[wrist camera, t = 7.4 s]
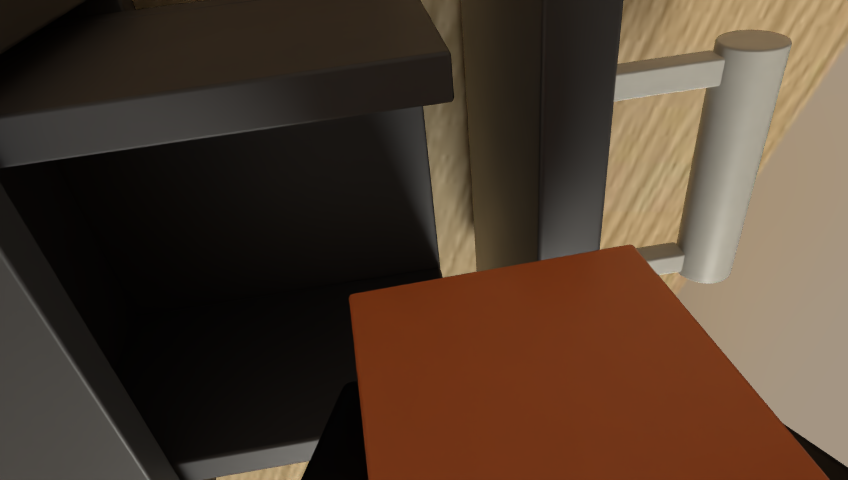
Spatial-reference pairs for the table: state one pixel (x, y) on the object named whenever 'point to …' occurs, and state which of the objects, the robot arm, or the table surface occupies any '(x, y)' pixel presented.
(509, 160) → the pull-out drawer
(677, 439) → the block
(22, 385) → the drawer cabinet
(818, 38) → the table surface
